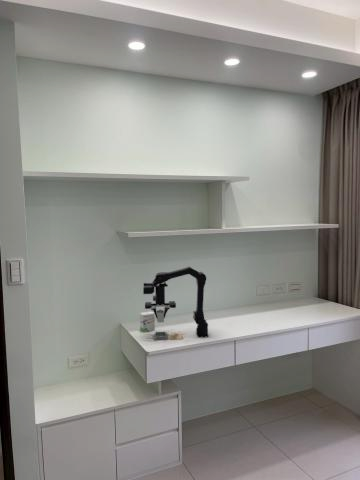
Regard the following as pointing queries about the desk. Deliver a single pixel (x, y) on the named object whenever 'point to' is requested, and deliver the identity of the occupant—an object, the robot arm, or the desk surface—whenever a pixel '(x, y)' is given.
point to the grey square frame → (157, 337)
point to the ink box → (147, 321)
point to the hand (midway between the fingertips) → (160, 318)
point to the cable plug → (160, 316)
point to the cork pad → (175, 336)
